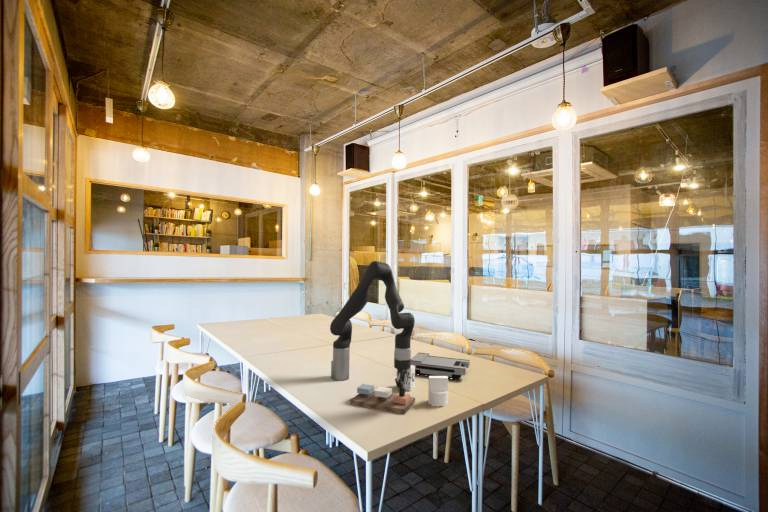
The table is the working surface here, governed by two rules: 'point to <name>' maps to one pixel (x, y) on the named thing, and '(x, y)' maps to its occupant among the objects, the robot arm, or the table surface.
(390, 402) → the key panel
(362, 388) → the slate-blue key
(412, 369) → the ink box
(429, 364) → the game console
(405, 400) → the rust key
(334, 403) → the table surface
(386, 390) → the off-white key
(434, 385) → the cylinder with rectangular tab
